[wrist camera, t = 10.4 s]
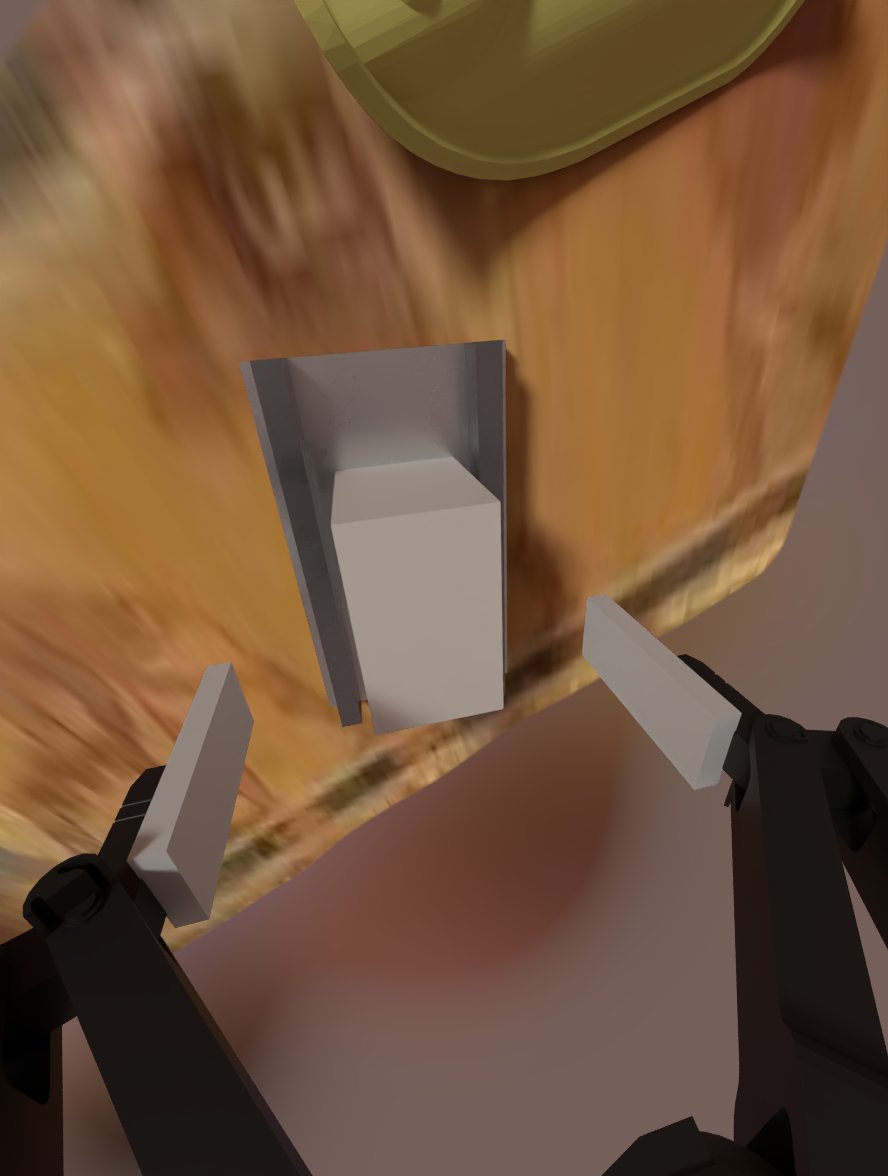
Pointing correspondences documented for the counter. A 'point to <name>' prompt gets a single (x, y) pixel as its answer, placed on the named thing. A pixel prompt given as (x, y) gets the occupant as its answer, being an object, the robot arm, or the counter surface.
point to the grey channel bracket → (370, 459)
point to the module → (422, 589)
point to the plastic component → (533, 70)
